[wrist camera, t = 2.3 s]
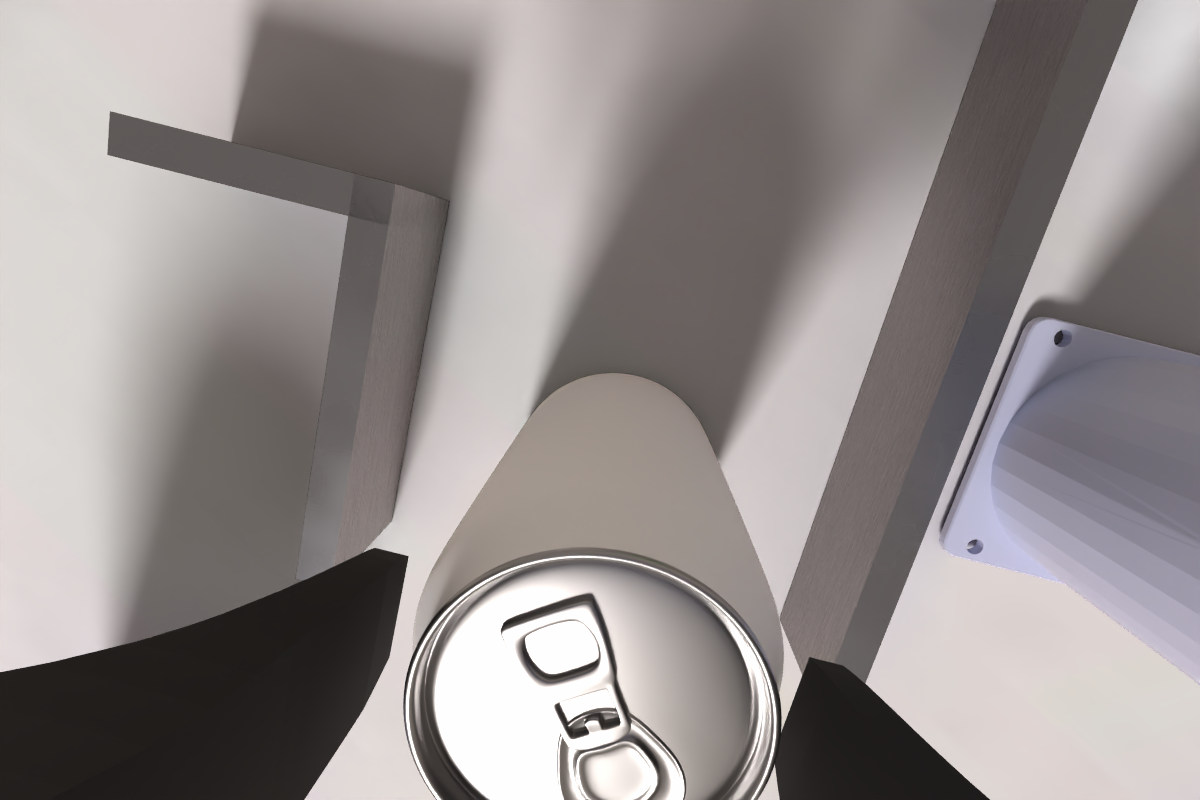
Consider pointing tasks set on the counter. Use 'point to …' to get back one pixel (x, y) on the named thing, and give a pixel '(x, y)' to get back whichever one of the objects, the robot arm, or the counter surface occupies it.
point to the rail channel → (893, 379)
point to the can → (598, 617)
